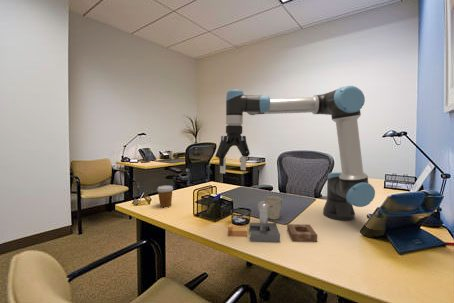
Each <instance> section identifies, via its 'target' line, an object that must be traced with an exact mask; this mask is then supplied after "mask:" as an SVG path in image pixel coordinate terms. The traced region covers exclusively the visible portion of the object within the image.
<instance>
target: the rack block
mask: <svg viewBox="0 0 454 303" xmlns="http://www.w3.org/2000/svg"><path fill="white" fill-rule="evenodd" d="M286 231H287V234H288V235H289V238H290V240H291V241H292V242H299V243H300V242H303V243H305V242H306V243H310V242H311V243H317V242H318V234H317V233H316V231H315V230H314V228H313V227H312V226H311V224H300V223H299V224H298V223H296V224H295V223H293V224H292V223H291V224H290V223H287V224H286Z"/></svg>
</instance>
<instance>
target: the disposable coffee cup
mask: <svg viewBox="0 0 454 303" xmlns="http://www.w3.org/2000/svg"><path fill="white" fill-rule="evenodd" d="M156 190H157V195H158V200H159V206H161V207H168V208H170V207H171V206H172V199H173V191H174V188H173V185H160V186H158V187H157V189H156ZM169 206H170V207H169ZM161 207H160V208H161Z"/></svg>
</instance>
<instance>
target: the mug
mask: <svg viewBox="0 0 454 303" xmlns="http://www.w3.org/2000/svg"><path fill="white" fill-rule="evenodd" d="M262 202H264V203H268V220H269V219H270V220H280V218H281V217H280V216H281V209H282V208H281V207H282V202H283V199H282V198H281V197H278V196H267V197H265V200H261V201H259V202H258V204H257V210H258V211H259V212H260V203H262Z"/></svg>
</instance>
